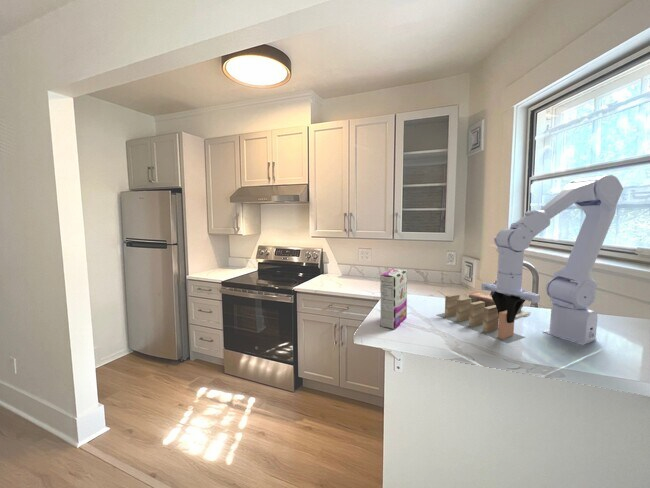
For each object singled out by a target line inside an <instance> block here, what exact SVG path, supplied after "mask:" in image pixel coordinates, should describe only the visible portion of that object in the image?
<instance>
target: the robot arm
mask: <svg viewBox="0 0 650 488" xmlns="http://www.w3.org/2000/svg"><path fill="white" fill-rule="evenodd" d="M623 190H624V188H623V185H622V183H621V182H620V180H619V179H618V177H617V176H615V175H613V174H606V175H603V176H602V175H601V176H596V177H587V178H575V179H572V180H571V181H570V182H569V183H568V184H566V185H564V186H563V187H562V190H561V191H560V192H559V193H558V194H556V195H555V196H554V197H553V198H552V199H551V200H550V201H548V202H547V203H546V204H545V205H543V207H541V208H540V209H539V210H538V209H532V210H527V211H525V212H524V215H523V216H522V217H521V218H520V219H518V220H517V221H515V222H513V223H511V224H510V226H509V228H508V227H507V228H503V229H501V230H499V231H498V232H497V234H496V237H494V238H493V239H494V241H493V242H494V244H495V246H496V247H497V253H498V256H497V257H498V258H497V259H498V260H497V272H496V273H497V275H496V276H497V277H496V283H489V282H482V283H481V287H480V288H481V290H482V291H488V292H492V293H493V294H491V296H492V299H493V301H494V303H495V305H496V307H497V310H498V314H499V312H502V311H506V310H507V323H512V322H514V323H515V320H516V319H515V316H516V314H517V312H518V310H519V308H520V307H521V305H522V304H523V305H524V303H525V302H526V301H529V302H531V303H534V304H536V303H537V304H538V303H539V302H540V299H541V298H540V297H541V295H540V293H539V294H538V293H535V292H532V291H528V290H525V289H522V282H523V268H524V255H525V250H527V249H528V248H530V245H531V242H532V240H534V237H537V235H539V234H540V233H541V232H543V231H544V230H546V229H547V228H548V227H549V226H550V225H551V219H552V218H554V217H556V216H557V215H558V214H561V212H563V211H565V210H566V209H568V208H570V207H571V206H572V205H576V206H577V208H578V209H580V211H583V213H584V214H585V217H584V220H583V221H582V222H583V223H582V225H581V226H580V229H579V232H578V235H577V237H576V239H575V241H574V244H573V245H572V249H571V251H570V253H569V256H568V259H567V261H566V264H565V266H564V268H562V269H560V270H557V271H556V272H554V273H553V274H554V275H553V276H552V278H551V279H549V280H548V282H547V283H546V285H545V293H546V295H547V296H548V298H549V301H550V302H551V309H550V310H551V311H550V321H549V322H550V323H549V328H547V329H544V330H542V332H543V334H548V335H551V336H553V337H555V338H560V339H563V340H566V341H569V342H572V343H575V344H578V345H580V346H581V345H582V346H585V345H586V344H589V343H591V342H594V341H596V340H597V331H598V330H597V327H598V313H597V312H596V311H595V310H592V309H589V307H590V306H592V305H593V303H594V302H595V300H596V289H597V287H598V283H597V282H596V280H595V279H594V278H593V277H592V276H591V272H592V270H593V267H594V266H595V263H596V261H597V258H598V257H599V253H600V252H601V249H602V246H603V244H604V241H605V239H606V237H607V235H608V232H609V230H610V227H611V225H612V222H613V220H614V217H615V215H616V210H617V205H618V203H619V200H620V197H622V196H621V195H622V192H623Z"/></svg>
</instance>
